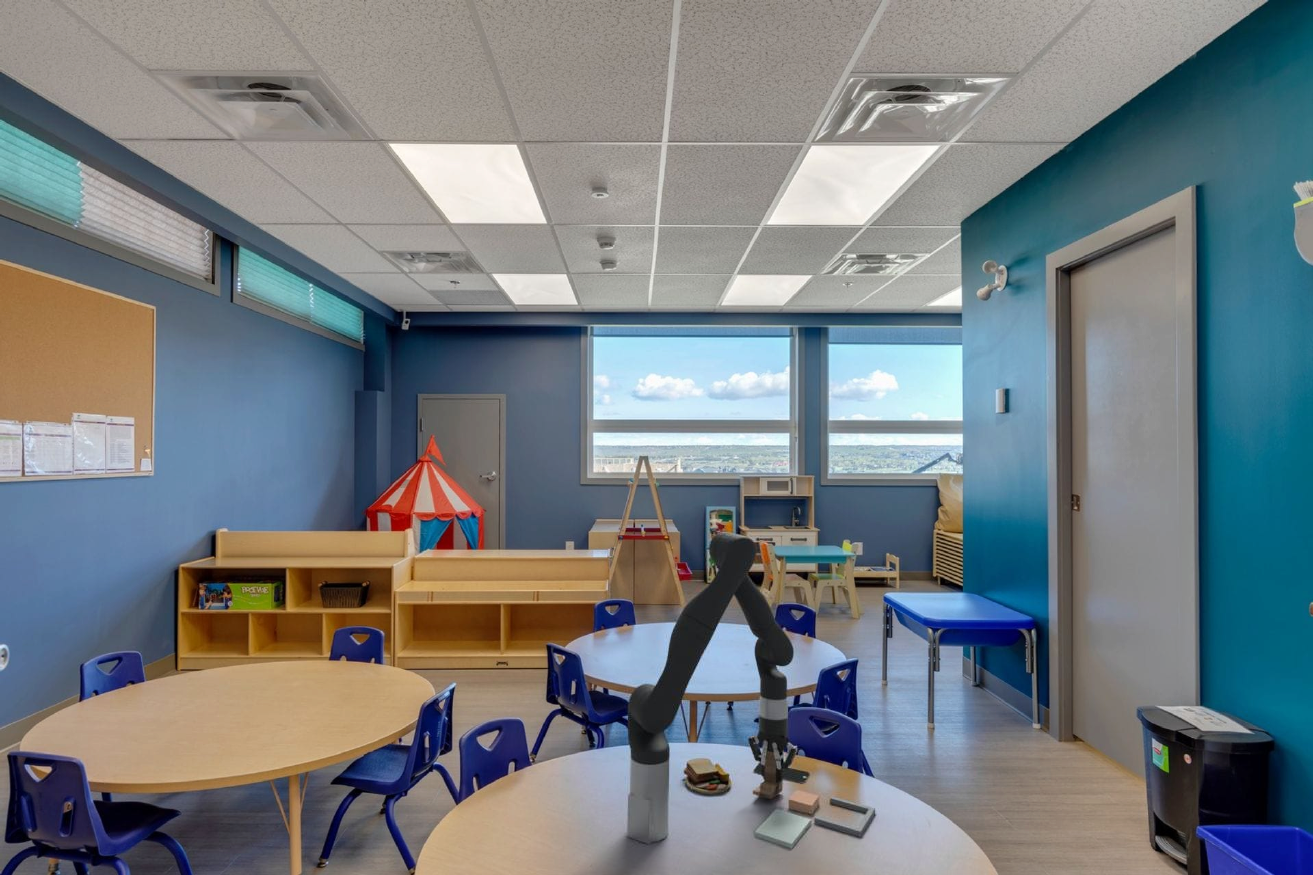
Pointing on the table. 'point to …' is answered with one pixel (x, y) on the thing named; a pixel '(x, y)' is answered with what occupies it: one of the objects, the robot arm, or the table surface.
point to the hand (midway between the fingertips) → (772, 780)
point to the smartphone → (789, 774)
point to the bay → (847, 828)
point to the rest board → (783, 828)
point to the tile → (803, 801)
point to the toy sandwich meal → (706, 776)
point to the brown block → (769, 779)
